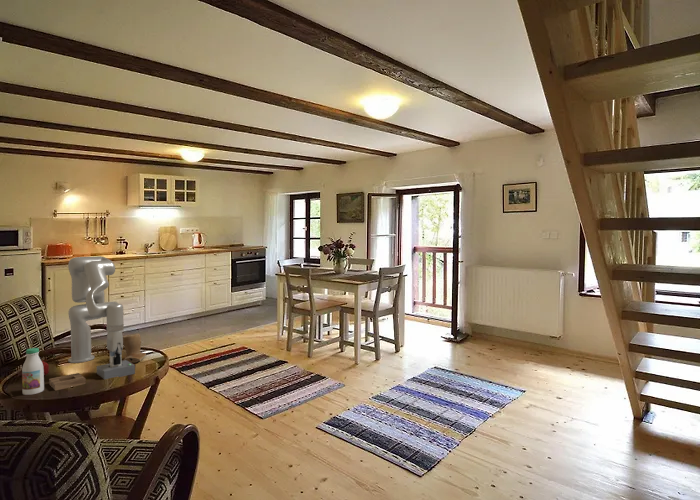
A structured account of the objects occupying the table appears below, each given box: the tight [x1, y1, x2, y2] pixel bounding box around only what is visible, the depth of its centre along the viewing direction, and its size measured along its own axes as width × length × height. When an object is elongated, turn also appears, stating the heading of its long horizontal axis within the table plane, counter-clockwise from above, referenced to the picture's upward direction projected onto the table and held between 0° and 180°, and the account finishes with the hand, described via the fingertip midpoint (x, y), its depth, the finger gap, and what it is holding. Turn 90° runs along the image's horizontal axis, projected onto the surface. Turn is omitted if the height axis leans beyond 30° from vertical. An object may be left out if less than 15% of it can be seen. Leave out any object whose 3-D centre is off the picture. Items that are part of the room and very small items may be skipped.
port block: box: [96, 359, 136, 380], centre depth 210 cm, size 12×14×5 cm
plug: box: [109, 350, 122, 368], centre depth 210 cm, size 3×5×11 cm
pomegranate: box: [40, 358, 50, 377], centre depth 207 cm, size 10×10×9 cm
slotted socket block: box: [48, 372, 87, 391], centre depth 194 cm, size 12×12×3 cm
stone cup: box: [122, 332, 147, 364], centre depth 233 cm, size 15×12×15 cm
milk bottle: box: [21, 347, 45, 396], centre depth 184 cm, size 8×8×20 cm
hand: (115, 363), depth 210 cm, fingers open, 3 cm apart
